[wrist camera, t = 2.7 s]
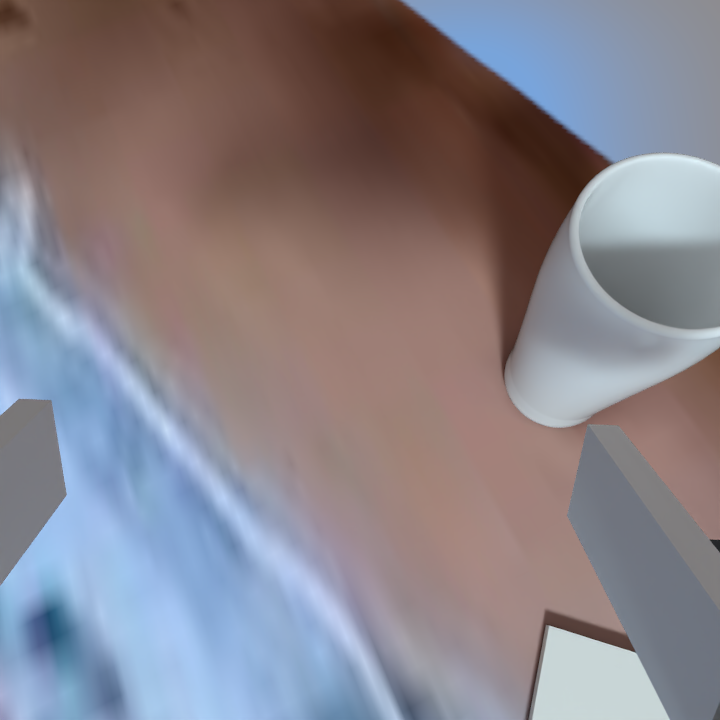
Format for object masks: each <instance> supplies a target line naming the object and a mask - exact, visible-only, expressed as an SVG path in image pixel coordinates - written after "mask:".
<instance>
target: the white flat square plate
mask: <svg viewBox="0 0 720 720" xmlns="http://www.w3.org/2000/svg"><path fill="white" fill-rule="evenodd" d="M529 720H670V719H669V717H668V715H667V713H666V711H665V709H664V707H663V705H662V703H661V701H660V699H659V697H658V695H657V693H656V691H655V689H654V687H653V685H652V683H651V681H650V679H649V677H648V675H647V673H646V671H645V669H644V667H643V665H642V663H641V661H640V659H639V657H638V655H637V653H635V652H632V651H629V650H626V649H622V648H619V647H616V646H613V645H610V644H606V643H603V642H600V641H597V640H594V639H591V638H587V637H584V636H581V635H578V634H575V633H571V632H568V631H565V630H562V629H559V628H556V627H552V626H549V625H546V628H545V633H544V639H543V644H542V649H541V655H540V660H539V666H538V671H537V677H536V682H535V687H534V693H533V698H532V704H531V709H530V715H529Z"/></svg>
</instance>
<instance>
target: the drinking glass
mask: <svg viewBox="0 0 720 720" xmlns="http://www.w3.org/2000/svg"><path fill="white" fill-rule="evenodd" d="M719 348H720V166H719V165H717V164H715V163H713V162H710V161H707V160H705V159H701V158H698V157H694V156H690V155H685V154H678V153H649V154H642V155H637V156H633V157H629V158H626V159H624V160H621V161H619V162H616V163H614V164H612V165H610V166H609V167H607V168H606V169H604V170H602V171H601V172H600V173H599V174H597V175H596V176H595V177H594V178H593V179H592V180H591V181H590V182H589V183H588V184H587V185H586V186H585V187H584V189H583V190H582V192H581V193H580V195H579V196H578V198H577V200H576V202H575V203H574V205H573V206H572V208H571V209H570V211H569V213H568V214H567V216H566V217H565V219H564V221H563V222H562V224H561V226H560V228H559V230H558V231H557V233H556V235H555V237H554V239H553V241H552V243H551V245H550V247H549V249H548V251H547V253H546V256H545V258H544V260H543V263H542V265H541V268H540V270H539V273H538V276H537V279H536V282H535V285H534V288H533V291H532V294H531V297H530V300H529V303H528V306H527V309H526V313H525V316H524V319H523V322H522V325H521V328H520V331H519V334H518V337H517V340H516V343H515V345H514V347H513V349H512V351H511V353H510V355H509V357H508V359H507V362H506V366H505V374H504V378H505V386H506V389H507V392H508V395H509V397H510V399H511V401H512V402H513V404H514V405H515V406H516V408H517V409H518V410H519V411H520V412H521V413H522V414H523V415H525V416H526V417H527V418H529V419H530V420H532V421H534V422H536V423H538V424H541V425H544V426H548V427H556V428H563V427H570V426H574V425H578V424H580V423H582V422H584V421H586V420H588V419H589V418H591V417H592V416H593V415H595V414H596V413H598V412H600V411H602V410H604V409H606V408H608V407H610V406H612V405H614V404H616V403H618V402H620V401H622V400H624V399H626V398H629V397H631V396H633V395H635V394H637V393H639V392H641V391H644V390H646V389H648V388H650V387H652V386H654V385H656V384H659V383H661V382H663V381H665V380H667V379H669V378H671V377H673V376H675V375H677V374H679V373H680V372H682V371H684V370H686V369H688V368H690V367H691V366H693V365H695V364H696V363H698V362H700V361H701V360H703V359H704V358H706V357H707V356H709V355H710V354H712V353H713V352H714V351H716V350H717V349H719Z"/></svg>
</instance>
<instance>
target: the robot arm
mask: <svg viewBox="0 0 720 720" xmlns="http://www.w3.org/2000/svg"><path fill="white" fill-rule="evenodd" d="M65 497H66V488H65V482H64V476H63V470H62V464H61V457H60V451H59V445H58V439H57V433H56V427H55V420H54V414H53V408H52V402H51V400H33V399H19V400H17V401H16V402H15V403H14V404H13V405H12V406H11V407H10V408H8V409H7V410H6V411H5V412H4V413H3V414H2V415H1V416H0V585H1V584H2V583H3V581H4V580H5V579H6V577H7V576H8V574H9V573H10V572H11V570H12V569H13V568H14V566H15V565H16V564H17V562H18V561H19V559H20V558H21V557H22V555H23V554H24V553H25V551H26V550H27V549H28V547H29V546H30V544H31V543H32V542H33V540H34V539H35V538H36V536H37V535H38V534H39V532H40V531H41V529H42V528H43V527H44V525H45V524H46V523H47V521H48V520H49V518H50V517H51V516H52V514H53V513H54V512H55V510H56V509H57V508H58V506H59V505H60V503H61V502H62V501H63V499H64V498H65ZM567 516H568V518H569V520H570V522H571V524H572V526H573V528H574V530H575V532H576V534H577V536H578V538H579V540H580V542H581V544H582V546H583V548H584V550H585V552H586V554H587V556H588V558H589V560H590V562H591V564H592V566H593V568H594V570H595V572H596V574H597V576H598V578H599V580H600V582H601V584H602V586H603V588H604V590H605V592H606V594H607V596H608V598H609V600H610V602H611V604H612V606H613V608H614V610H615V612H616V614H617V616H618V618H619V620H620V622H621V624H622V626H623V628H624V630H625V631H626V633H627V635H628V637H629V639H630V641H631V643H632V645H633V647H634V649H635V651H636V653H637V655H638V657H639V659H640V661H641V663H642V665H643V667H644V669H645V671H646V673H647V675H648V677H649V679H650V681H651V683H652V685H653V687H654V689H655V691H656V693H657V695H658V697H659V699H660V701H661V703H662V705H663V707H664V709H665V711H666V713H667V715H668V717H669V719H670V720H720V540H709V539H708V537H707V536H706V535H705V534H704V532H703V531H702V530H701V529H700V527H699V526H698V525H697V524H696V522H695V521H694V520H693V519H692V517H691V516H690V515H689V513H688V512H687V511H686V510H685V508H684V507H683V506H682V505H681V503H680V502H679V501H678V500H677V498H676V497H675V496H674V495H673V493H672V492H671V491H670V490H669V488H668V487H667V486H666V485H665V483H664V482H663V481H662V480H661V478H660V477H659V476H658V475H657V473H656V472H655V471H654V470H653V468H652V467H651V466H650V465H649V463H648V462H647V461H646V460H645V458H644V457H643V456H642V455H641V453H640V452H639V451H638V450H637V448H636V447H635V446H634V445H633V443H632V442H631V441H630V440H629V438H628V437H627V436H626V435H625V433H624V432H623V431H622V430H621V428H620V427H619V426H614V425H592V424H588V426H587V430H586V435H585V439H584V444H583V448H582V452H581V457H580V461H579V466H578V470H577V475H576V479H575V483H574V488H573V492H572V497H571V501H570V506H569V510H568V514H567Z"/></svg>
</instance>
